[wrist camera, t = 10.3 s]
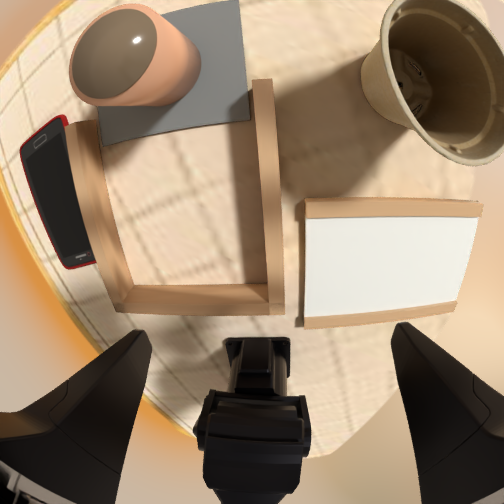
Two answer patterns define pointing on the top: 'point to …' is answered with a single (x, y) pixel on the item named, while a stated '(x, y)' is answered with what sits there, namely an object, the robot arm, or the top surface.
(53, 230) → the cell phone
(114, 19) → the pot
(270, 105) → the wooden u-shaped frame
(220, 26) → the mat
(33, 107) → the top surface
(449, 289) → the wood framed whiteboard
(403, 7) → the flower pot
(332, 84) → the top surface
